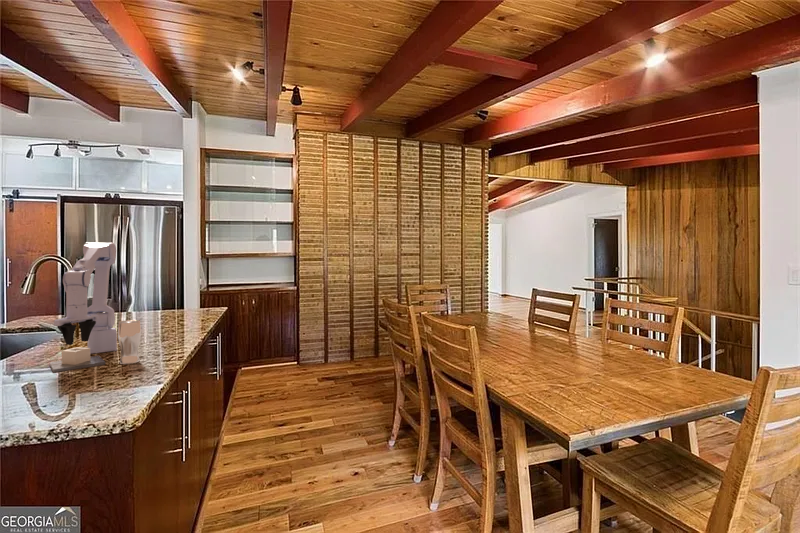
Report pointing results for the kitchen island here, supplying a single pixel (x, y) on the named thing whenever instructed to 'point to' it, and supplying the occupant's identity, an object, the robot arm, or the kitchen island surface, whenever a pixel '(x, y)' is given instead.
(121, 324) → the beer glass
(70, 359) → the block
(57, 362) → the flat plate
